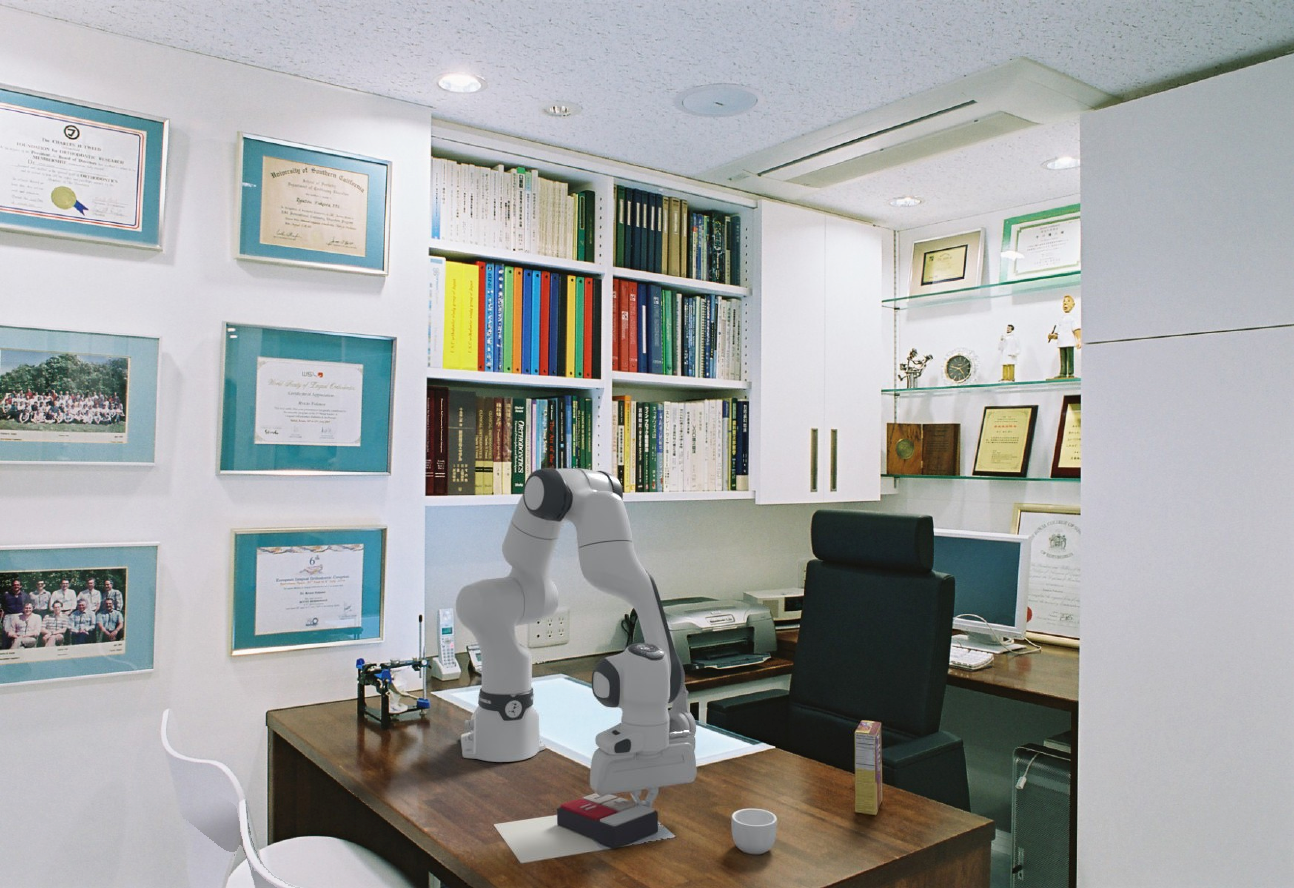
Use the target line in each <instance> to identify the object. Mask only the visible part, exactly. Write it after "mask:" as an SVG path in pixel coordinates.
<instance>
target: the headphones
mask: <svg viewBox="0 0 1294 888" xmlns="http://www.w3.org/2000/svg"><path fill="white" fill-rule="evenodd" d="M688 696H689V691H688V690H687V688H686V684H685V683H684V685H683V688H682V690H681V692H680V693H679V695H678V696H677V697H676V699H675V700H674V701H673V702H672V707H671V708H670V710H669V709H668V713H669V719H670V720H669V732H681V731H688V732H689V733H692V734H693V735H694V737H695V736H696V732H697V723H696V720H695V718H694V717H695V716H693V715H692V713H691V712H690V709H689V703H688ZM689 736H691V735H689Z"/></svg>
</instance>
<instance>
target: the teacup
mask: <svg viewBox="0 0 1294 888" xmlns="http://www.w3.org/2000/svg"><path fill="white" fill-rule="evenodd" d="M730 822H731V826H730V827H731V836H732V839H733V842H734V844H735V845H736V847H737V848H738V849H739V850H741V851H742V852H743V853H746V854H750V855H761V854H765V853H766V852H768V851H769V850H771V849H772V848H773V846H774V844H775V841H776V838H777V831H778V819H777V816H776V815H775V813H773V812H771V811H768V810H766V809H760V808H743V809H742V808H741V809H739V810H736V811H734V812H733V813H732V814H731V821H730Z"/></svg>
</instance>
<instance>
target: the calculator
mask: <svg viewBox="0 0 1294 888" xmlns="http://www.w3.org/2000/svg"><path fill="white" fill-rule="evenodd" d="M556 815H557V825H559V826H562V827H565V828H568V829H570V830H573V831H576V832H579V833H581V834H584V835H587V836H590V837H592V838H595V839H596V840H597V841H598V842H599V843H600V844H602V845H605V846H607V847H610V849H614V850H615V849H618V848H620V847H621V846H622V847H624V846H623V845H626V844H628V843H631V842H633V841H636V840H638V839H641V838H643V837H646V836H648V835H651V834H653V833H656V832H658V822H659V811H658V810H656V809H654V808H653V807H652V808H649V807H646V806H643V805H638V803H636V802H635V801H634V800H629V799H626V798H624V797H618V796H617V795H614V794H609V795H602V796H600V795H598V794H597V793H596V792H594V793H592V794H589V795H585V796H583V797H582V798H577V799H574V800H571V801H568V802H565V803H562V804H560V806H559V807H557V808H556Z"/></svg>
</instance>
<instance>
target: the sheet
mask: <svg viewBox="0 0 1294 888" xmlns="http://www.w3.org/2000/svg"><path fill="white" fill-rule="evenodd" d="M658 824H659V825H658V832H656V833H653V834H651V835H648V836H646V837H643V838H641V839H638V840H636V841H633V842H631V843H628V844H626V845H623V846H621V847H627V846H633V845H632V844H634V845H640V844H645V843H644V842H646V843H649V842H648V841H652V842H655V841H656V840H658V841H662V840H661V839H660V838H663V839H664V840H668V839H667V838H670V839H675V838H674V837H675V836H676V835H675V834H674V833H672V832H671V831H670V830H669V829H668V828H667V827H666V826H665V825H663V824H662V823H661V822H659V821H658ZM660 824H662V825H660ZM493 827H494V828H495V829H496V830H497V832H498V833H499V835H500V836H501V837H502V839H503V841H504V843H506V845H507V846H508V847H509V848H510V850H511V852H512V853H513V854H514V856H515V857H516V858H517V860H518V862H520V864H525V863H526V864H527V863H533V862H538V861H545V860H549V859H554V858H555V859H556V858H562V857H567V856H574V855H579V854H584V853H585V854H586V853H590V852H591V853H592V852H598V851H603V850H604V851H605V850H610V849H611V848H610V847H607V846H605V845H602V844H600V843H599V842H598V841H597V840H596V839H595V838H592V837H590V836H587V835H584V834H581V833H579V832H576V831H573V830H570V829H568V828H565V827H562V826H559V825H557V814H554V815H546V816H540V817H533V818H528V819H519V820H514V821H513V820H512V821H508V822H501V823H494V824H493ZM662 827H664V828H662ZM651 838H653V839H651ZM656 842H657V841H656Z"/></svg>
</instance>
